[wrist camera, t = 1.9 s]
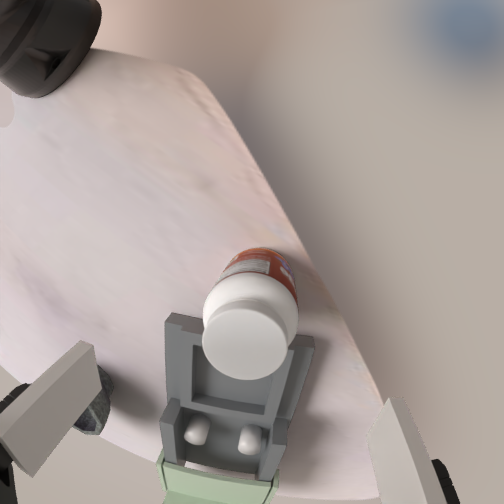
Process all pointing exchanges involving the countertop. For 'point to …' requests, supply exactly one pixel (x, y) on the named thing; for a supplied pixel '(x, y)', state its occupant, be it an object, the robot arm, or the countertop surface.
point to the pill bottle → (251, 315)
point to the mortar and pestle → (96, 408)
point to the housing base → (227, 405)
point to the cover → (211, 486)
